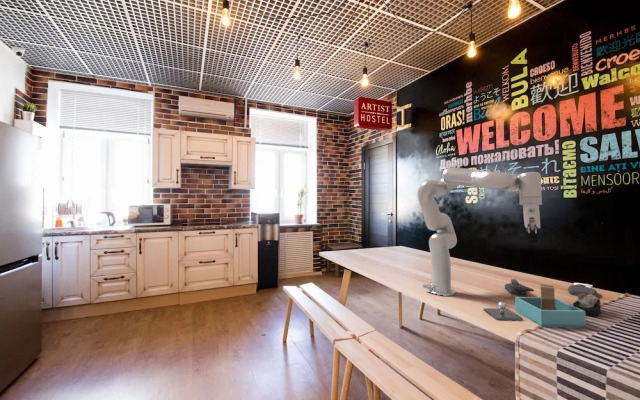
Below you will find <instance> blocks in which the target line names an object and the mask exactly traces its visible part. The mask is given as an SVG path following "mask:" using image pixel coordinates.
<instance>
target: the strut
mask: <svg viewBox="0 0 640 400" xmlns="http://www.w3.org/2000/svg"><path fill="white" fill-rule="evenodd" d="M555 296H556V295H555V287H554V285H549V284H540V297H541V306H539V309H541V310H556V308H555Z"/></svg>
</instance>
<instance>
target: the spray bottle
mask: <svg viewBox="0 0 640 400" xmlns="http://www.w3.org/2000/svg"><path fill="white" fill-rule="evenodd" d="M567 290H568V294H569V295H570V296H576V297H578V294H586V293H593V292H595V295H596V297H597V298H598V292H597V290H596V289H595V288H593V284H589V283H580V282H573V284H572V285H569V286H568V288H567Z"/></svg>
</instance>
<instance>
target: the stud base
mask: <svg viewBox="0 0 640 400" xmlns="http://www.w3.org/2000/svg"><path fill="white" fill-rule="evenodd" d="M497 307H498V308H489V307H488V308H487V307H486V308H485V307H484V308H483V311H484V312H485V313H486V314H487V315H489V316H490V317H492V318H493V319H494V320H495V321H523V320H524V319H523V317H522V316H520V315H519V314H518V313H515V312H513V311H512V310H511V309H509V308H507V304H506V303H505V302H504V301H499V302H498V303H497Z"/></svg>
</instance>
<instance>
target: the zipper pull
mask: <svg viewBox="0 0 640 400" xmlns="http://www.w3.org/2000/svg"><path fill="white" fill-rule="evenodd" d="M504 289H505V291H506V292H507V293H509V295H512V296H514V297H528V292H535V289H533V288H530V287H528V286H526V285H524V284H522V283H520V282H519V281H518V280H517V278H516V279H515V278H514V279H513V278H511V279H510V282H509V283H506V284H504Z"/></svg>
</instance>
